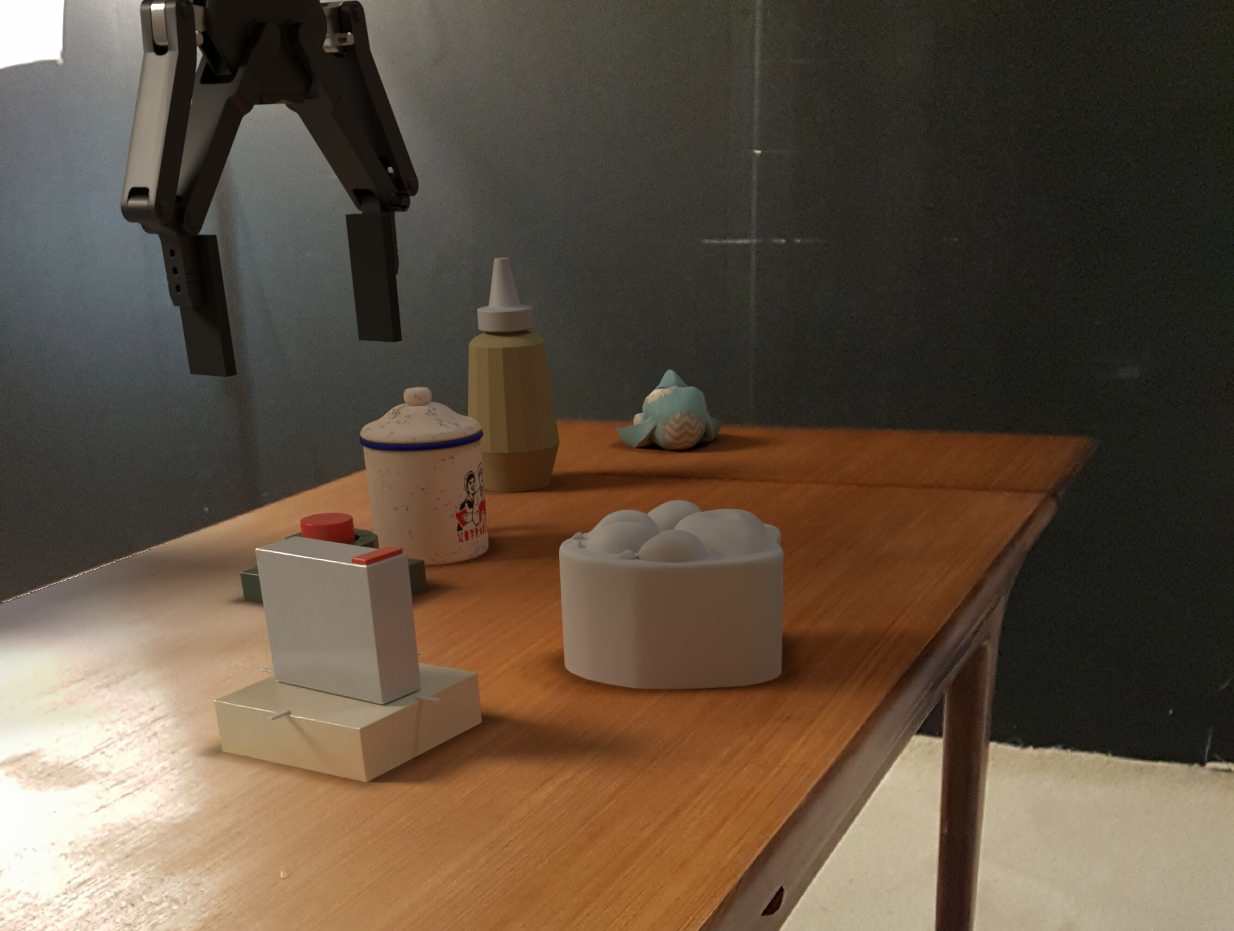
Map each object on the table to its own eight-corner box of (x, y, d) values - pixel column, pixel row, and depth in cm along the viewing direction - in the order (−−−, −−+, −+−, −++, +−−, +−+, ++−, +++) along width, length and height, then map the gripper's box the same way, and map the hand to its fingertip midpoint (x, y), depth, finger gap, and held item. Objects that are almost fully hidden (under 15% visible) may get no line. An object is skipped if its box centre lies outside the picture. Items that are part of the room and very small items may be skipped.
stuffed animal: (706, 370, 157) (737, 361, 146) (710, 448, 160) (741, 445, 149) (601, 378, 155) (624, 369, 144) (606, 456, 158) (630, 453, 147)
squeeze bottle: (508, 501, 134) (492, 264, 125) (452, 488, 140) (432, 260, 130) (580, 486, 139) (570, 255, 129) (523, 474, 144) (509, 251, 134)
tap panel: (193, 757, 84) (182, 700, 83) (341, 691, 93) (334, 638, 91) (370, 797, 79) (362, 736, 77) (510, 722, 87) (506, 666, 86)
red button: (292, 548, 108) (288, 521, 107) (327, 536, 111) (323, 510, 110) (332, 553, 106) (329, 526, 105) (366, 541, 109) (363, 515, 108)
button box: (244, 603, 110) (234, 544, 108) (320, 576, 116) (312, 519, 113) (354, 621, 105) (347, 559, 103) (427, 591, 111) (422, 533, 109)
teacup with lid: (485, 567, 116) (472, 396, 110) (363, 570, 116) (343, 400, 110) (501, 529, 126) (489, 371, 120) (388, 532, 126) (371, 374, 120)
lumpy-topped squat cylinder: (783, 690, 90) (786, 533, 86) (557, 694, 91) (549, 539, 86) (776, 636, 99) (779, 492, 94) (571, 641, 100) (564, 498, 95)
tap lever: (274, 681, 85) (253, 543, 81) (313, 665, 87) (294, 530, 83) (383, 705, 81) (366, 561, 77) (422, 689, 83) (407, 548, 79)
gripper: (95, -151, 66) (184, 395, 78) (460, -111, 83) (489, 330, 95) (-21, -135, 70) (81, 386, 81) (352, -100, 87) (393, 325, 98)
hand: (301, 357), depth 88 cm, fingers open, 13 cm apart
